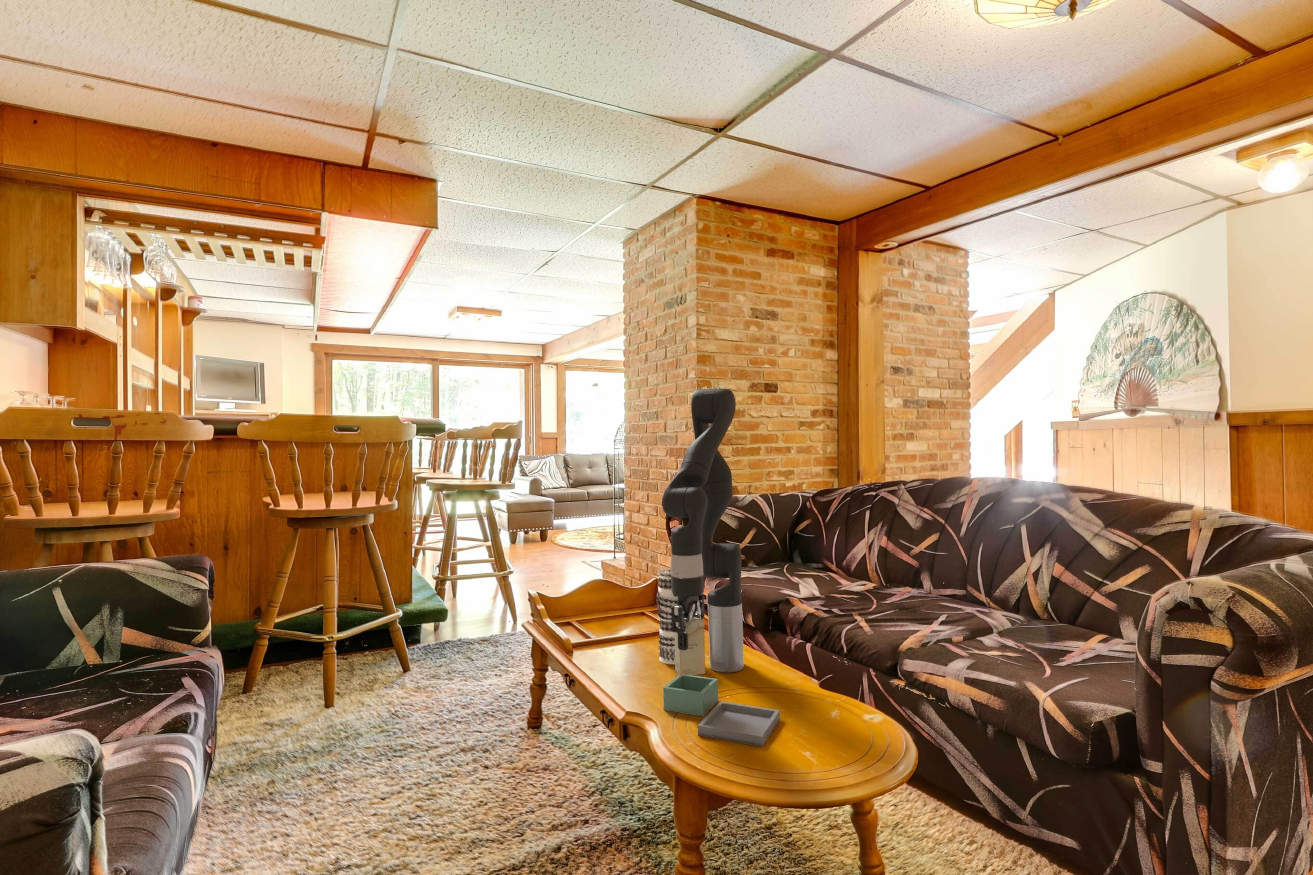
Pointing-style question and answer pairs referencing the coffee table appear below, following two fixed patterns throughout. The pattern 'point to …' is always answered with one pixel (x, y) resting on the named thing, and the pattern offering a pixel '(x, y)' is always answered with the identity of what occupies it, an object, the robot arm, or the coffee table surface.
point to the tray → (739, 723)
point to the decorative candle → (666, 617)
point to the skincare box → (691, 650)
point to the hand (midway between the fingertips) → (689, 644)
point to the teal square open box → (691, 695)
